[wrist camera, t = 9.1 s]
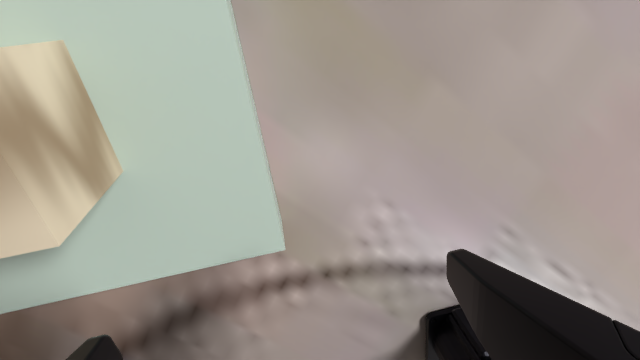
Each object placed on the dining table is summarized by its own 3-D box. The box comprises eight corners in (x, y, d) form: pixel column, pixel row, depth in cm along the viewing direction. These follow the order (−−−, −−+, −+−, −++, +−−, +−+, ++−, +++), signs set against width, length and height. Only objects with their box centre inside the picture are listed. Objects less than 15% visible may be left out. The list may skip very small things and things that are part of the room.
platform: (281, 220, 21) (285, 249, 18) (-23, 286, 19) (-67, 329, 17) (191, -165, 13) (175, -213, 10) (-355, -109, 11) (-549, -149, 8)
